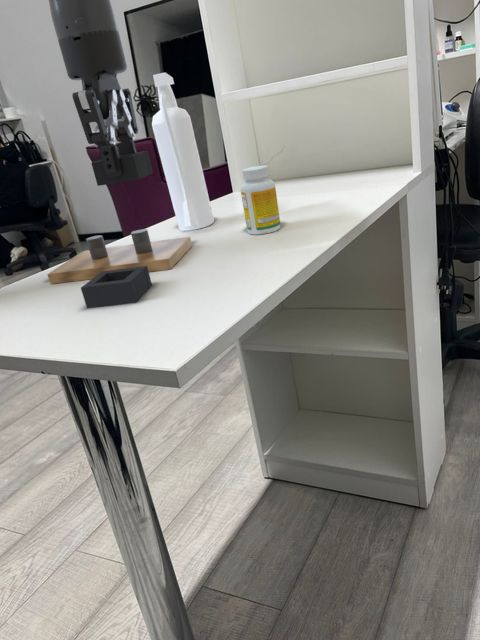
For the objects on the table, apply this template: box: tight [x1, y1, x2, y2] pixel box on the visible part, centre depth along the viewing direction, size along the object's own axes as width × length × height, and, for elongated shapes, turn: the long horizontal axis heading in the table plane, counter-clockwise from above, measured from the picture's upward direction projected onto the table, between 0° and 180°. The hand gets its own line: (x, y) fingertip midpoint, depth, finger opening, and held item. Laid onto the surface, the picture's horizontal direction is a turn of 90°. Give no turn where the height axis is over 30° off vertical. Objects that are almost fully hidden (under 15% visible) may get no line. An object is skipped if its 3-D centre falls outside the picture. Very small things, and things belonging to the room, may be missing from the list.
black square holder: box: [90, 150, 154, 187], centre depth 74 cm, size 6×6×3 cm
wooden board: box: [47, 228, 193, 285], centre depth 79 cm, size 18×12×4 cm, turn 83°
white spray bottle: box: [151, 72, 215, 232], centre depth 92 cm, size 7×12×25 cm, turn 178°
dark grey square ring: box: [80, 266, 153, 309], centre depth 63 cm, size 6×6×3 cm
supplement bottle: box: [240, 165, 281, 236], centre depth 84 cm, size 5×5×10 cm
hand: (124, 172), depth 74 cm, fingers closed on black square holder, 6 cm apart
